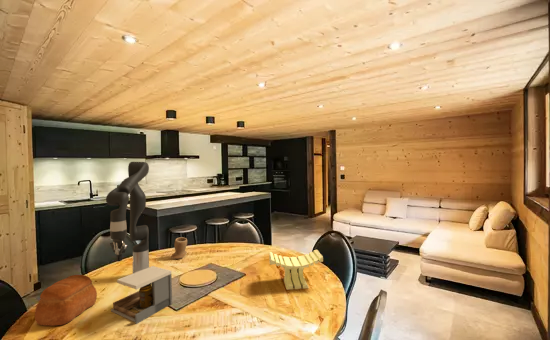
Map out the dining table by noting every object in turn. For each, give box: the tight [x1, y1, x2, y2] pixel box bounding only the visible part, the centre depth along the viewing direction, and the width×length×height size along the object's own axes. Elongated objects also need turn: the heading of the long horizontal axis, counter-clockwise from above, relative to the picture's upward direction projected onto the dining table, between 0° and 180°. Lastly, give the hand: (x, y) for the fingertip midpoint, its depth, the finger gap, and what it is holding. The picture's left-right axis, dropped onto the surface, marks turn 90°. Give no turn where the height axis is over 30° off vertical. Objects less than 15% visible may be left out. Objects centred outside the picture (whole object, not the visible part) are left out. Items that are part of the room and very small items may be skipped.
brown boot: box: [170, 236, 188, 260], centre depth 207 cm, size 15×12×15 cm
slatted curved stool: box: [268, 249, 324, 290], centre depth 157 cm, size 30×16×18 cm, turn 96°
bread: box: [34, 274, 98, 327], centre depth 128 cm, size 18×22×17 cm
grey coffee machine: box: [110, 265, 173, 325], centre depth 132 cm, size 22×19×18 cm
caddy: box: [112, 290, 154, 318], centre depth 133 cm, size 20×16×4 cm
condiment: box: [132, 283, 154, 313], centre depth 134 cm, size 7×8×12 cm
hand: (119, 260), depth 141 cm, fingers closed
